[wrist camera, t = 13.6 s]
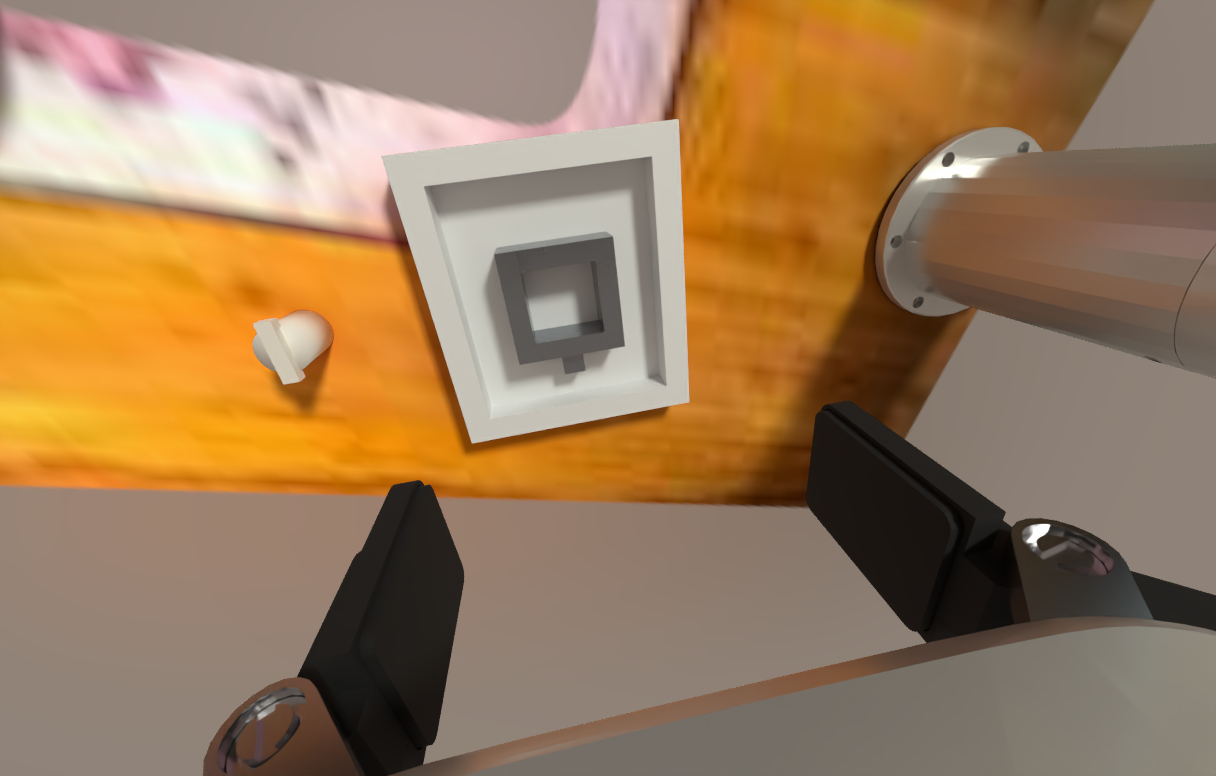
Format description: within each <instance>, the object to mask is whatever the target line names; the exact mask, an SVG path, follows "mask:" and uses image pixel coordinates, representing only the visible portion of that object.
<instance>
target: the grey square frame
mask: <svg viewBox="0 0 1216 776" xmlns="http://www.w3.org/2000/svg"><path fill="white" fill-rule="evenodd" d="M494 257H495V261H496V265H497V270H498V274H499V278H500V283H501V287H502V291H503V296H504V300H505V304H506V309H507V313H508V317H509V322H510V326H511V330H512V334H513V339H514V343H515V347H516V352H517V356H518V360H519V365H522V364H528V363H534V362H540V361H545V360H551V359H557V358H562V361H563V366H564V372H565V374H570V373H576V372H582V371H586V370H585V364H584V357H583V354H585V353H591V352H597V351H602V350H608V349H614V348H619V347H625V341H624V332H623V323H622V313H621V304H620V295H619V286H618V276H617V267H616V258H615V249H614V240H613V236H612V235H610V234H609V233H607V232H606V231H605V232H598V233H591V234H584V235H578V236H571V237H564V238H558V239H551V240H544V241H537V242H531V243H524V244H517V245H510V246H504V247H497V248H496V250H495V253H494ZM585 262H591V268H592V276H593V283H594V291H595V298H596V305H597V313H598V320H595V321H589V322H583V323H577V324H571V325H565V326H560V327H554V328H548V329H542V330H536V331H534V327H533V323H532V318H531V313H530V308H529V303H528V298H527V294H526V289H525V284H524V279H523V274H522V272H527V271H533V270H540V269H546V268H553V267H559V266H565V265H572V264H578V263H585Z"/></svg>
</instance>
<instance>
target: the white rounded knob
mask: <svg viewBox="0 0 1216 776" xmlns="http://www.w3.org/2000/svg"><path fill="white" fill-rule="evenodd" d="M253 326H254V328H255V330H256V332H257V334H256V336H255V337H254V340H253V350H254V353H255V355H256V357H257V359H258V360H259V361H260V362H261V363H262V364H263V365H264V366H266V367H267V368H269V369H271V370H273V371H275V372H277V373H278V375H279V377H280V379H281V381H282V383H283V384H290V383H296V382H300V381H302V380H303V379H304V378H305V377H306V376H305V374H304V372H303V369H304V368H305V367H306V366H307V365H309V364H310V363H311V362H312V361H313V360H314V359H316V358H317V357H318V356H319V355H320V354H321V353H323V352H324V351H325V350H326V349H327V348H328V347H329V346H330V345H331V344H332V341H333V337H334V335H333V330H332V327H331V325H330V324H329V322H328V321H327V320H326V319H325V318H324V317H322V316H321V315H319V314H317V313H315V312H313V311H309V310H298V311H294V312H292V313H290V314H289V315H287V316H285V317H283V318H282V319H280V320H278V318H273V319H266V320H260V321H258V322H256V323H254V324H253Z"/></svg>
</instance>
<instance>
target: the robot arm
mask: <svg viewBox="0 0 1216 776" xmlns="http://www.w3.org/2000/svg"><path fill="white" fill-rule="evenodd" d="M875 264H876V270H877V276H878V279H879V282H880V284H881V287H882V289H883V291H884V292H885V294H886V295H887V296H888V298H889V299H890V300H891V301H892V302H893V303H895V304H896V305H897V306H898V307H900V308H902V309H905V310H907V311H909V312H912V313H915V314H919V315H923V316H938V317H939V316H944V315H950V314H954V313H957V312H959V311H962V310H965V309H967V308H969V307H972V308H975V309H979V310H982V311H986V312H989V313H992V314H996V315H999V316H1003V317H1006V318H1009V319H1013V320H1016V321H1020V322H1023V323H1026V324H1030V325H1033V326H1037V327H1040V328H1043V329H1047V330H1050V331H1054V332H1057V333H1061V334H1064V335H1067V336H1071V337H1074V338H1078V339H1081V340H1085V341H1088V342H1091V343H1095V344H1098V345H1101V346H1105V347H1109V348H1112V349H1115V350H1118V351H1122V352H1125V353H1129V354H1132V355H1135V356H1139V357H1142V358H1146V359H1149V360H1152V361H1156V362H1159V363H1163V364H1166V365H1170V366H1174V367H1177V368H1181V369H1184V370H1187V371H1191V372H1195V373H1198V374H1201V375H1205V376H1208V377H1212V378H1215V379H1216V143H1214V144H1194V145H1174V146H1154V147H1132V148H1111V149H1091V150H1072V151H1071V150H1070V151H1049V152H1043V151H1042V149H1041V148H1040V146H1039V145H1038V144H1037V143H1036V141H1035V140H1034V139H1033V138H1031V137H1030V136H1028V135H1027V134H1025V133H1024V132H1022V131H1020V130H1016V129H1012V128H1009V127H991V128H984V129H977V130H971V131H968V132H965V133H963V134H960V135H957V136H955V137H953V138H951V139H949V140H948V141H946V142H944V143H943V144H941V145H939V146H937V147H936V148H935V149H934V150H933V151H931V152H930V153H929V154H928V155H926V156H925V157H924V158H923V159H922V160H921V161H920V162H919V163H918V164H917V165H916V166H915V167H914V168H913V169H912V170H911V172H910V173H909V174H908V175H907V176H906V178H905V179H904V180H903V182H902V183H901V185H900V186H899V188H898V189H897V190H896V192H895V194H894V196H893V198H892V199H891V201H890V203H889V205H888V207H887V209H886V211H885V214H884V217H883V220H882V222H881V225H880V228H879V233H878V238H877V243H876V258H875ZM806 498H807V503H808V506H809V508H810V510H811V511H812V512H813V514H814V515H815V516H816V517H817V518H818V520H819V521H820V522H821V523H822V525H823V526H824V527H825V528H826V529H827V531H828V532H829V533H830V534H831V535H832V536H833V538H834V539H835V540H836V542H838V544H839V545H840V546H841V548H842V549H843V550H844V551H845V553H846V554H847V555H848V556H849V557H850V559H851V560H852V561H853V562H854V563H855V565H856V566H857V567H858V568H859V570H860V571H861V572H862V573H863V574H864V576H865V577H866V578H867V579H868V581H869V582H870V583H871V584H872V585H873V587H874V588H875V589H876V590H877V592H878V593H879V594H880V595H881V596H882V598H883V599H884V600H885V601H886V602H887V604H888V605H889V606H890V607H891V608H892V610H893V611H894V612H895V613H896V615H897V616H898V617H899V618H900V619H901V621H902V622H903V623H904V624H905V625H906V626H907V627H908V628H909V629H910V630H912V631H915V632H916V631H917V632H918V633H919V634H920V635H921V637H922V638H923V639H924V640H925V641H926V643H925V644H921V645H916V646H912V647H908V648H904V649H899V650H895V651H890V652H886V653H882V654H877V655H873V656H868V657H864V658H860V659H856V660H851V661H847V662H842V663H838V664H834V665H830V666H825V667H821V668H817V669H812V670H808V671H804V672H800V673H795V674H791V675H787V676H782V677H778V678H774V679H770V680H766V681H761V682H757V683H753V684H748V685H744V686H740V687H736V688H731V689H727V690H723V691H719V692H715V693H711V694H706V695H702V696H698V697H693V698H689V699H685V700H681V701H677V702H673V703H668V704H664V705H660V706H656V707H651V708H647V709H643V710H639V711H635V712H631V713H627V714H623V715H618V716H615V717H610V718H606V719H602V720H598V721H594V722H590V723H585V724H581V725H577V726H573V727H569V728H565V729H560V730H556V731H552V732H548V733H544V734H540V735H536V736H532V737H527V738H523V739H519V740H515V741H511V742H508V743H504V744H500V745H496V746H492V747H489V748H485V749H481V750H477V751H474V752H470V753H466V754H462V755H458V756H454V757H451V758H447V759H443V760H439V761H435V762H431V763H428V764H424V765H423V762H424V757H425V751H426V746H428V745H432V744H433V743H434V741H435V739H436V736H437V731H438V725H439V719H440V714H441V708H442V703H443V697H444V691H445V686H446V679H447V674H448V669H449V663H450V658H451V652H452V646H453V641H454V635H455V629H456V624H457V618H458V612H459V606H460V601H461V595H462V590H463V583H464V570H463V566H462V563H461V560H460V558H459V555H458V552H457V550H456V547H455V545H454V542H453V540H452V538H451V534H450V532H449V529H448V527H447V524H446V521H445V519H444V517H443V514H442V511H441V509H440V506H439V503H438V501H437V498H436V496H435V493H434V490H433V488H432V487H431V485H425V486H424V484H423V483H422V482H421V481H420V480H417V481H411V482H406V483H401V484H395V485H393V486H392V487H391V489H390V491H389V493H388V495H387V497H386V499H385V501H384V504H383V506H382V508H381V510H380V512H379V514H378V516H377V519H376V521H375V523H374V525H373V527H372V530H371V532H370V534H369V536H368V538H367V540H366V542H365V544H364V547H363V549H362V551H360V552H359V553H358V554H356V556H355V557H354V559H353V561H352V563H351V565H350V567H349V569H348V571H347V573H346V575H345V578H344V579H343V582H342V584H341V586H340V588H339V590H338V592H337V594H336V596H335V598H334V600H333V603H332V605H331V607H330V609H329V611H328V613H327V615H326V618H325V619H324V622H323V623H322V626H321V628H320V630H319V632H318V634H317V636H316V638H315V640H314V643H313V645H312V647H311V649H310V651H309V653H308V655H307V657H306V659H305V661H304V664H303V665H302V668H301V670H300V672H299V674H298V676H297V677H295V678H288V679H283V680H281V681H278V682H276V683H273V684H271V685H268V686H267V687H265V688H264V689H262V690H260V691H259V692H257V693H256V694H254V695H253V696H251V697H250V698H249V699H248V700H247V701H245V702H244V703H243V704H242V705H241V706H239V707H238V708H237V709H236V710H235V711H234V712H233V713H232V714H231V716H230V717H229V718H228V719H227V720H226V721H225V722H224V724H223V725H222V726H221V727H220V729H219V730H218V732H217V733H216V735H215V737H214V738H213V740H212V741H211V743H210V746H209V748H208V750H207V753H206V756H205V758H204V766H203V776H1216V595H1213V594H1209V593H1206V592H1202V591H1198V590H1195V589H1191V588H1188V587H1185V586H1181V585H1178V584H1174V583H1171V582H1167V581H1163V580H1160V579H1157V578H1154V577H1150V576H1147V575H1143V574H1139V573H1136V572H1132V571H1130V569H1129V567H1128V565H1127V563H1126V562H1125V560H1124V559H1123V558H1122V556H1121V555H1120V554H1119V552H1117V551H1116V550H1115V549H1114V548H1113V547H1111V546H1110V545H1109V544H1108V543H1107V542H1105V541H1103V540H1101V539H1100V538H1098V537H1096V536H1095V535H1093V534H1092V533H1089V532H1087V531H1085V530H1082V529H1080V528H1078V527H1075V526H1073V525H1069V524H1066V523H1063V522H1059V521H1055V520H1049V519H1042V518H1030V519H1024V520H1021V521H1018V522H1016V523H1015V524H1014V525H1013V526H1012V527H1011V526H1010V525H1008V524H1007V523H1006V522H1004V521H1003V518H1004V515H1005V511H1004V510H1002V509H1001V508H1000V507H998V506H997V505H995V504H994V503H993V502H991V501H990V500H988V499H987V498H986V497H984V496H983V495H981V494H980V493H979V492H977V491H976V490H974V489H973V488H972V487H970V486H969V485H968V484H966V483H965V482H963V481H962V480H960V479H959V478H958V477H956V476H955V475H953V474H952V473H951V472H949V471H948V470H947V469H945V468H944V467H942V466H941V465H939V464H938V463H937V462H935V461H934V460H933V459H931V458H930V457H928V456H927V455H926V454H924V453H923V452H921V451H920V450H918V449H917V448H916V447H914V446H913V445H912V444H910V443H909V442H907V441H906V440H905V439H903V438H902V437H900V436H899V435H898V434H896V433H895V432H893V431H892V430H891V429H889V428H888V427H886V426H885V425H884V424H882V423H881V422H879V421H878V420H877V419H875V418H874V417H872V416H871V415H870V414H868V413H867V412H865V411H864V410H863V409H861V408H860V407H859V406H857V405H856V404H854V403H853V402H851V401H843V402H838V403H832V404H827V405H824V406H823V407H822V409H821V412H818V413H817V415H816V418H815V426H814V434H813V443H812V452H811V460H810V469H809V477H808V486H807V495H806Z"/></svg>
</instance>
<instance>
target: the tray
mask: <svg viewBox="0 0 1216 776" xmlns="http://www.w3.org/2000/svg"><path fill="white" fill-rule="evenodd" d="M382 159H383V163H384V166H385V169H386V172H387V175H388V179H389V182H390V185H391V188H392V191H393V194H394V198H395V201H396V204H397V207H398V210H399V213H400V217H401V220H402V223H403V226H404V229H405V233H406V236H407V239H408V242H409V245H410V248H411V252H412V255H413V258H414V261H415V264H416V267H417V271H418V274H419V277H420V280H421V283H422V287H423V290H424V293H425V296H426V299H427V302H428V306H429V309H430V312H431V315H432V318H433V322H434V325H435V328H436V331H437V334H438V337H439V341H440V344H441V347H442V350H443V353H444V356H445V360H446V363H447V366H448V369H449V372H450V376H451V379H452V382H453V385H454V388H455V391H456V395H457V398H458V401H459V404H460V407H461V410H462V414H463V417H464V420H465V423H466V426H467V430H468V433H469V436H470V439H471V442H472V443H478V442H483V441H488V440H493V439H499V438H504V437H509V436H514V435H520V434H525V433H530V432H535V431H541V430H546V429H551V428H556V427H562V426H567V425H572V424H577V423H583V422H588V421H593V420H598V419H604V418H609V417H614V416H619V415H625V414H630V413H635V412H640V411H646V410H651V409H656V408H661V407H667V406H672V405H677V404H682V403H688V402H689V380H688V354H687V327H686V301H685V274H684V248H683V221H682V195H681V168H680V142H679V119H675V120H667V121H659V122H651V123H643V124H635V125H627V126H619V127H611V128H603V129H595V130H587V131H579V132H571V133H563V134H555V135H547V136H539V137H531V138H523V139H515V140H507V141H499V142H491V143H483V144H475V145H467V146H459V147H451V148H443V149H435V150H427V151H418V152H410V153H402V154H394V155H386V156H382ZM605 231H606V232H607V233H609V234H610V235H612V236H613V240H614V249H615V258H616V267H617V276H618V286H619V295H620V304H621V313H622V323H623V332H624V341H625V347H619V348H614V349H608V350H602V351H597V352H591V353H585V354H583V357H584V364H585V370H586V371H582V372H576V373H570V374H565V372H564V366H563V361H562V358H557V359H551V360H545V361H540V362H534V363H528V364H522V365H519V360H518V356H517V352H516V347H515V343H514V339H513V334H512V330H511V326H510V322H509V317H508V313H507V309H506V304H505V300H504V296H503V291H502V287H501V283H500V278H499V274H498V270H497V265H496V261H495V257H494V253H495V250H496V248H497V247H504V246H510V245H517V244H524V243H531V242H537V241H544V240H551V239H558V238H564V237H571V236H578V235H584V234H591V233H598V232H605ZM522 274H523V279H524V284H525V289H526V294H527V298H528V303H529V308H530V313H531V318H532V323H533V327H534V331H536V330H542V329H548V328H554V327H560V326H565V325H571V324H577V323H583V322H589V321H595V320H598V313H597V305H596V298H595V291H594V283H593V276H592V268H591V262H585V263H578V264H572V265H565V266H559V267H553V268H546V269H540V270H533V271H527V272H522Z"/></svg>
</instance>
